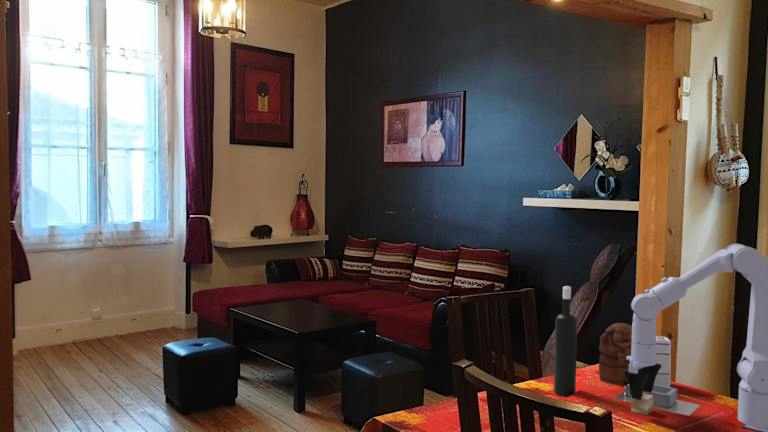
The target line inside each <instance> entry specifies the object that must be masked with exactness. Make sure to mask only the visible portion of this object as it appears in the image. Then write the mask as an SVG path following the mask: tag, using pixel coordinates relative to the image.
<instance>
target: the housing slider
mask: <svg viewBox="0 0 768 432" xmlns="http://www.w3.org/2000/svg"><path fill="white" fill-rule="evenodd" d="M678 389H679V388H677V387H671V386H670V387H666V386H662V385H657V384H654V386H653V389H652V392H646V391H644V393H645V394H649V395H653V404H656V405H661V406H665V407H669V406H671V405H672V404H673V403H674V402H675V401H677V400H678V393H679V392H678Z"/></svg>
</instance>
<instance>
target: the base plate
mask: <svg viewBox="0 0 768 432" xmlns="http://www.w3.org/2000/svg"><path fill="white" fill-rule="evenodd" d="M623 386H624V385H623ZM623 389H624V390H623V392H620V393H619V394H617V395H616V396H615V397H613V399H615V400H619V401H624V402H628V403H631V392H630V387H629V384H627V385H625V386H624V388H623ZM643 393H644V394H645V392H643ZM700 406H701V404H697V403H692V402H687V401H684V400H678V399H677V401H675V402H674V403H673V404H672V405H671V406H669V407H665V406H661V405H656V404H653V408H655V409H658V410H663V411H668V412H670V413H676V414H679V415H684V416H689V417H690V415H692V414H693V413H694V412H695V411H696V410H698V409H699V408H700Z"/></svg>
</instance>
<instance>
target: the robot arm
mask: <svg viewBox="0 0 768 432" xmlns="http://www.w3.org/2000/svg"><path fill="white" fill-rule="evenodd" d="M733 270H734V271H736V272H738V273H740V274H741V275H742V276H743V277H744V278H745V279H746V280H747V281H748V282H749V283H750V284H751V287H750V301H749V311H748V313H749V314H748V323H747V334H746V335H747V337H746V346H745V348H744V349H743V351H742V355H741V359H740V360H739V362H738V363H737V367H736V372H737V375H738V376H739V377H740V378H741V380H740V382H739V384H738V401H737V402H738V404H737V406H738V407H737V420H738V421H739V422H741V423H743V425H742V426H741V427H742V428H745V429H750V430H753V431H754V430H755V431H759V432H768V261H767V257H766V255H764V254H762V252H760V251H758V250H757V249H756V248H753V247H751V246H747V245H744V244H742V243H733V244H732V243H731V244H730V245H728V246H727V247H725V248H723V249H720V250H718V251H716V252H715V253H713V254H712V255H710V256H709V257H707V258H706V259H704V260H703V261H701V262H700V263H698V264H696V266H694V267H692V268H691V269H690V270H688V271H687V272H685V273H683V274H682V275H681V276H679V277H675V276H669V277H668V278H667V277H666V276H665V277H663V278H661V279H660V283H657V284H656V285H655V286H653V287H651V288H650V289H649V288H647V289H644V293H639V294H636V296H634V297H633V299H632V300H631V303H630V308H631V310H632V311H633V314H632V315H633V316H632V322H631V323H632V324H631V327H632V345H631V356H627V357H626V359H627V360H630V364H629V369H627V368H626V369H625V370H624V374H625V376H626V378H627V380H628V383H629V387H630V392H631V396H632V398H633V399H638V400H641V398H642V395H643V393H644V392H645V391H646V392H652V391H653V386H654V382H655V379H656V376H657V374H658V372H659V370H660V368H661V364H657V363H656V361H657V354H656V336H657V317H658V316H659V314H660V311H661V310H664V309H666V308H668V307H669V306H671V305H673V304H675V303H676V302H678V301H679V300H681V299H683V298H684V297H686V294H687V291H688V289H689V288H691V287H693V286H695V285H697V284H699V283H700V282H702V281H704V280H705V279H707V278H709V277H711V276H713V275H715V274H717V273H734V271H733Z"/></svg>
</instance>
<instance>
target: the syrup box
mask: <svg viewBox="0 0 768 432" xmlns="http://www.w3.org/2000/svg"><path fill="white" fill-rule="evenodd" d="M671 351H672V342H671V340H670V339H669V338H668V337H667V336H661V335H656V354H657V361H656V363H657V364H661V368H660V370H659V372H658V374H657V376H656V379H655V382H654V384H657V385H662V386H666V387H671V383H672V382H671V380H672V379H671V378H672V376H671V375H672V371H671V369H672V365H671V364H672V363H671V362H672V355H671V353H672V352H671Z"/></svg>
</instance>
